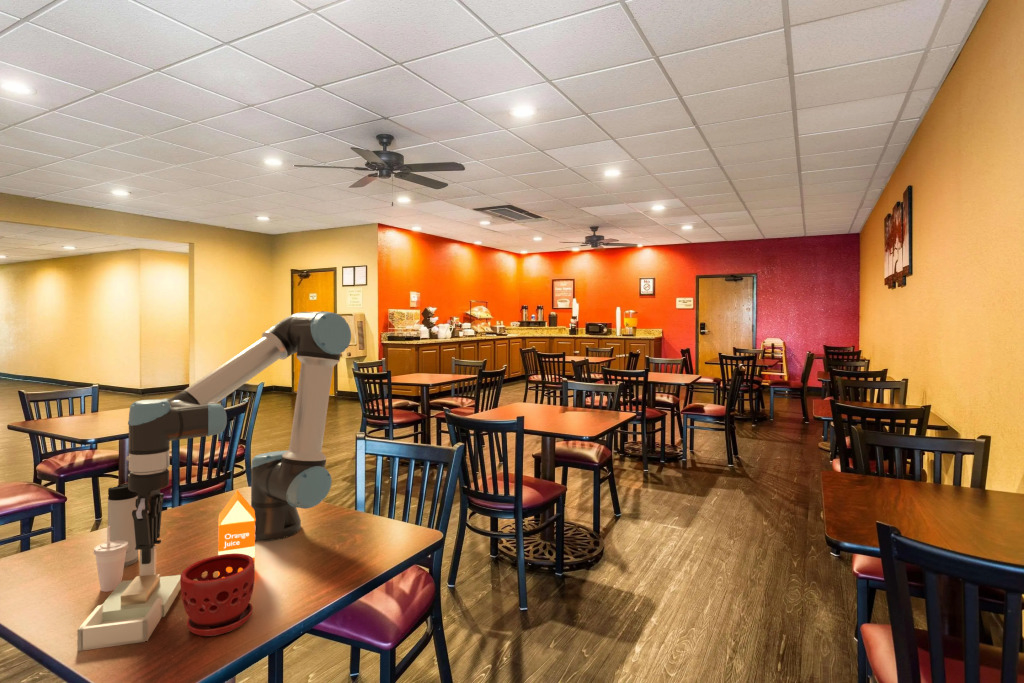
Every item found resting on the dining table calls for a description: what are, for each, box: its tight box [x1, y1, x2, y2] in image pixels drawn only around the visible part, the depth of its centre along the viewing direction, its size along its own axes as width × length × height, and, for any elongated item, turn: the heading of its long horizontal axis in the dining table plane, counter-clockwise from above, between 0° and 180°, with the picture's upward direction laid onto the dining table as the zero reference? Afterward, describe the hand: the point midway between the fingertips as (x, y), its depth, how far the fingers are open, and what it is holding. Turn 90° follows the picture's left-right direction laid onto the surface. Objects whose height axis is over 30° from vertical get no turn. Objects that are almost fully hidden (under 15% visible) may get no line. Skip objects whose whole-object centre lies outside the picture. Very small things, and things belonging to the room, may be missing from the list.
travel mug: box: [107, 482, 139, 568], centre depth 135 cm, size 6×7×20 cm
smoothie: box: [92, 525, 129, 593], centre depth 122 cm, size 6×6×14 cm
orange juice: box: [217, 489, 256, 578], centre depth 128 cm, size 8×9×20 cm
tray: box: [76, 598, 163, 652], centre depth 105 cm, size 11×9×4 cm
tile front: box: [121, 583, 153, 606], centre depth 113 cm, size 4×4×2 cm
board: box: [101, 574, 181, 622], centre depth 116 cm, size 12×14×2 cm
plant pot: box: [180, 553, 256, 637], centre depth 108 cm, size 13×13×12 cm
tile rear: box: [129, 573, 161, 592], centre depth 117 cm, size 4×4×2 cm
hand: (147, 575), depth 120 cm, fingers closed
